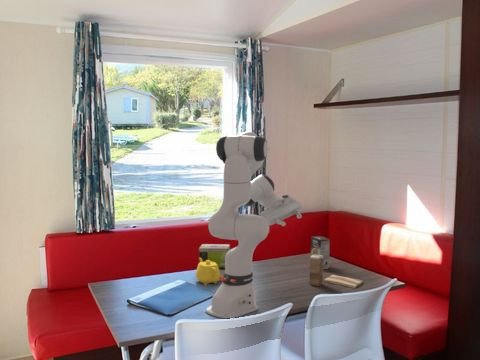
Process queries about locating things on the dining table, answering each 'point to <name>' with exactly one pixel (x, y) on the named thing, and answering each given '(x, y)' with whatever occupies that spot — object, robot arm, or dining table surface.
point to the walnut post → (316, 270)
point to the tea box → (215, 254)
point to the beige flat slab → (343, 281)
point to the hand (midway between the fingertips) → (292, 220)
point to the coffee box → (321, 249)
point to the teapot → (207, 272)
